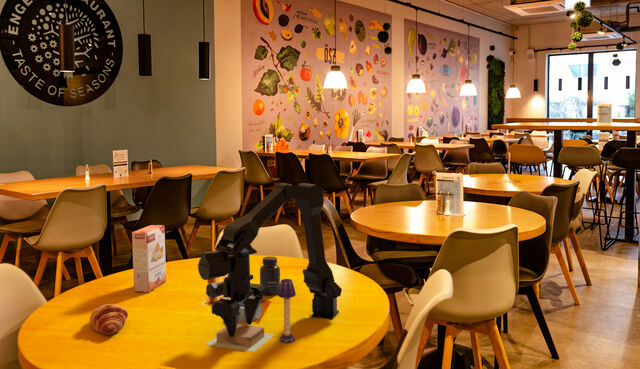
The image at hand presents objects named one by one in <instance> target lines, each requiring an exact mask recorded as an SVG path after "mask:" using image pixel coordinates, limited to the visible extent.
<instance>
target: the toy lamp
mask: <svg viewBox="0 0 640 369" xmlns="http://www.w3.org/2000/svg"><path fill="white" fill-rule="evenodd" d="M296 294H297V293H296V290H295V286H294V281H293V279H290V278H283V279H280V286H279V290H278V294H277V297H279V298H280V299H281V298H282V299H283V306H284V307H283V317H284V318H283V323H284V324H283V334H282V335H281V336H280V337H279V339H278V340H279V342H280V343H282V344H291V343H294V342H295V341H296V338H295V336H294V335H293V334H291V298H294V297H295V296H296Z"/></svg>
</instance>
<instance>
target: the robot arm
mask: <svg viewBox="0 0 640 369" xmlns="http://www.w3.org/2000/svg"><path fill="white" fill-rule="evenodd" d="M324 194H325V192H324V189H323V188H322V187H321V186H320V185H319V184H313V183H312V184H311V183H303V182H302V183H301V182H300V183H298V184H297V185H295V184H292V183H284V182H280V183H277V185H275V187H274V188H273V189H272V190H271V191H270V192H269V193H268V194H267V195H266V196H265V197H264V198H263V199H262V200H260V202H259V203H257V204H256V205H255V206H254V207H253V208H252V209H250V211H249V212H248V213H247V214H245V215H244V216H240V217H239V218H235V219H234V220H233V221H232V222H229V224H226V226H225V227H224V228H223V230H222V232H223V233H222V235H221V237H220V239H219V241H218V242H217V244H216V246H215V248H214V250H212V251H203V252H202V253H201V257H200V258H199V261H198V264H197V269H198V273H199V277H200V278H201V279H202V280H203V281H208V280H213V279H217V278H221V277H224V279H223V280H222V281H220V282H217V283H216V282H212V283H209V284H207V285H206V288H205V289H206V290H205V294H206V295H207V296H208V298H210V299H211V300H214V299H215V298H218V297H221V296H223V298H220V299H218V300H217V301H215V302H213V304H212V305H211V306H210V308H211V314H212V315H215V316H217V317H219V318H220V319H222V321H223V323H224V326H225V327H226V328H227V331H228V333H229V336H230V337H234V335H235V332H236V328H237V324H239V321H238V320H239V317H240V312H239V310H240V303H241V302H243V303H244V306H245V315H246V321H245V322H246V325H248V326H252V323H253V322H254V320H253V319H254V316H255V314H256V312H257V310H258V307H259V305H260V303H261V304H262V301H263V300H264V296H266V289H265V287H264V286H263V285H261V284H260V283H252V282H251V280H253V279H254V274H251V260H250V257H251V256H250V255H255V254H257V252H258V250H256V249H255V248H253V246H252V245H251V244H252V243H253V241H255V240H256V238H257V237H258V235H259V231H260V228H261V227H262V226H263V225H264V224H265V223H266V222H267V221H268V220H269V219H270V218H271V217H272V216H273V215H274V214H275V213H276V212H277V211H278V210H280V209H281V207H283V205H285V204H286V203H287V202H288V201H289V200H291V199H294V201H295V205H296V207H297V209H298V211H299V212H300V214H301V216H302V220H303V227H304V228H303V229H304V236H305V243H306V251H307V258H308V264H307V265H306V266H307V267H306V268H305V269H302V274H303V283H304V284H305V286H306V287H307V288H308V290H309V293H311V294H313V298H312V299H311V304H312V305H311V306H312V308H311V312H312V314H311V317H312V318H320V319H329V320H333V319H334V318H335V317H336V316H337V315H338V314H339V313H340V311H339V310H338V298H339V297H341V295H342V291H343V289H342V287H341V286H340V285H338V283H336V281H335V278H334V273H333V270H332V268H331V267H330V266H329V264H328V262H327V259H326V251H325V244H324V236H323V229H322V228H323V227H322V220H321V212H322V211H323V207H324V206H325V204H324V201H325V200H324V199H325V195H324ZM228 298H229V299H228Z"/></svg>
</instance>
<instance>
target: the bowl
mask: <svg viewBox="0 0 640 369" xmlns="http://www.w3.org/2000/svg"><path fill="white" fill-rule="evenodd" d="M239 312H240V317H239V320H238V322H247V321H246V315H245V306H244V303H243V302H241V303H240V310H239ZM261 316H262V302H261V303H260V305H259V307H258V310H257V312H256V314H255V316H254V319H253V321H255V320H259V319H260V317H261Z"/></svg>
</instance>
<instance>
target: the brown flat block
mask: <svg viewBox="0 0 640 369" xmlns="http://www.w3.org/2000/svg"><path fill="white" fill-rule="evenodd" d="M264 333H265V327H264V326H263V327H262V326H256V325H255V326H254V325H248V324H239V323H238V324H237V328H236V332H235V335H234V337H230V336H229V333H228V331H227V328H226V326H225V327H223V328H222V329H220V330H219V331H216V337H217V342H219V343H226V344H232V345H239V346H246V347H252V346H253V345H255V344H256V343H257V342H258V341H260V340H261V339H262V338H263V337H264Z"/></svg>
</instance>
